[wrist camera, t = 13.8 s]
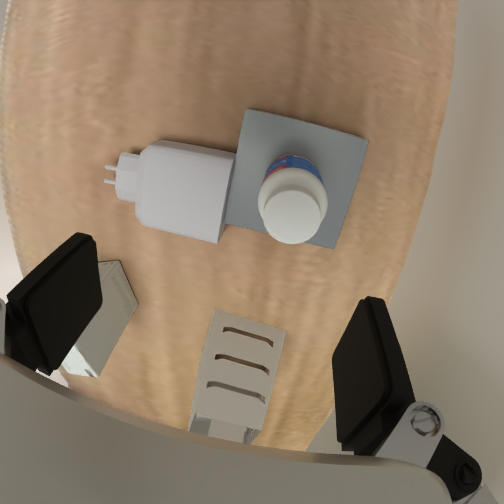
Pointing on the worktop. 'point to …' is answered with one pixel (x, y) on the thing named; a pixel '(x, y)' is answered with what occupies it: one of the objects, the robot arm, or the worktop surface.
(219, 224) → the charger
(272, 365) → the grater
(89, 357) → the skincare box
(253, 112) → the grey pad
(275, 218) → the pill bottle
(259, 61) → the worktop surface
